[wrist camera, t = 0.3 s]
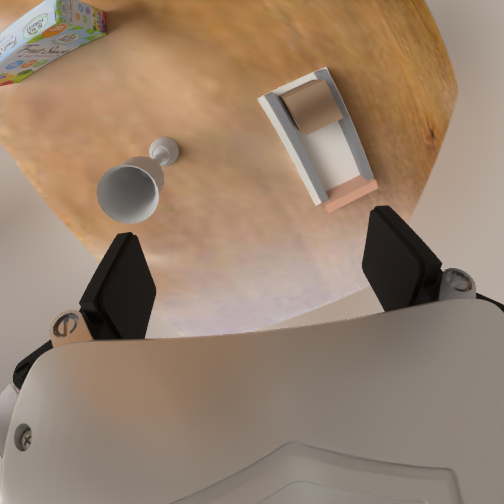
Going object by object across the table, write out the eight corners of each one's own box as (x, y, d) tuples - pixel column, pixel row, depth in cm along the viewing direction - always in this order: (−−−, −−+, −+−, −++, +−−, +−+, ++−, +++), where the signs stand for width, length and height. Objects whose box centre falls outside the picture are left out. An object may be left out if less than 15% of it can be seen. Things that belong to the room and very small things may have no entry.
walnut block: (278, 95, 36) (285, 97, 31) (312, 79, 35) (325, 79, 30) (296, 128, 39) (306, 135, 35) (329, 112, 38) (343, 117, 33)
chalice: (147, 175, 43) (107, 228, 28) (139, 137, 39) (89, 173, 25) (189, 167, 43) (166, 218, 28) (181, 127, 39) (150, 157, 24)
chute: (257, 98, 37) (260, 100, 33) (324, 67, 35) (335, 66, 30) (314, 203, 48) (322, 216, 44) (371, 175, 46) (383, 185, 41)
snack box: (105, 8, 25) (57, -10, 13) (108, 35, 28) (58, 24, 16) (15, 60, 25) (-39, 69, 13) (18, 84, 29) (-37, 99, 16)
